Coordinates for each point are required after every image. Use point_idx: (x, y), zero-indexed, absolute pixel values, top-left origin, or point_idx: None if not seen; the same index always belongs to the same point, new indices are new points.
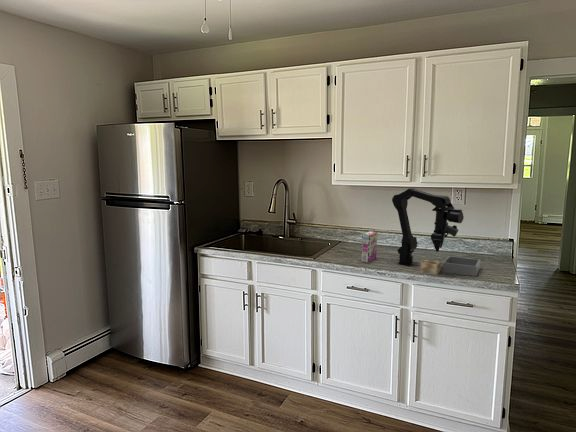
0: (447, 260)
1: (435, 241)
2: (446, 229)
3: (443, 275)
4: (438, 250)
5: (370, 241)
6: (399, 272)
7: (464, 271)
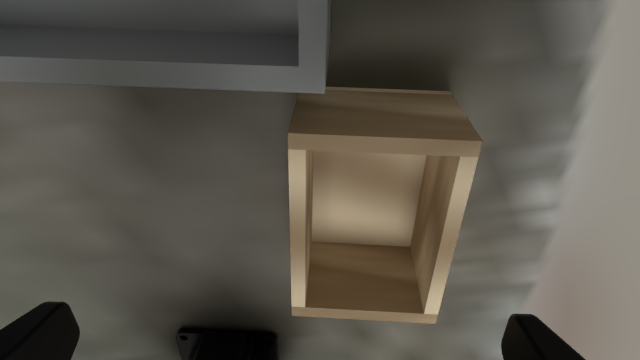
0: (77, 52)
1: None
2: None
3: (492, 15)
4: (566, 343)
5: None
6: None
7: None
